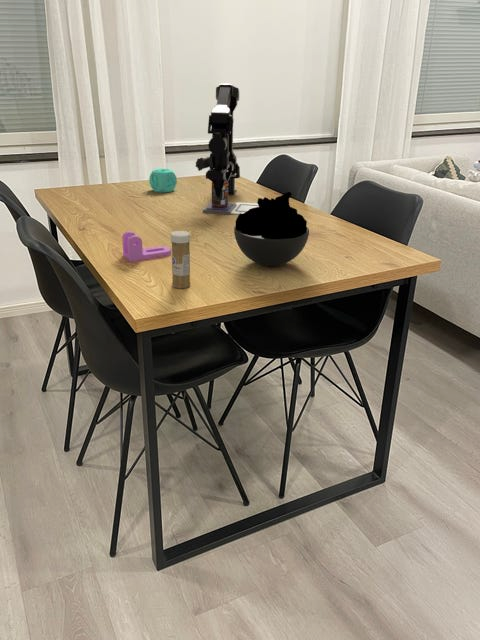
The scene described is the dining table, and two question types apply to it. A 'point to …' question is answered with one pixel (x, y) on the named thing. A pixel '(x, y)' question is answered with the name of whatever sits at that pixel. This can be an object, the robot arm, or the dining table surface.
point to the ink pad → (219, 209)
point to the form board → (243, 207)
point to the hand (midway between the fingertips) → (220, 194)
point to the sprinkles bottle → (180, 259)
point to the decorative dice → (163, 180)
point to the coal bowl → (271, 231)
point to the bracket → (135, 251)
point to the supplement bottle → (223, 198)
